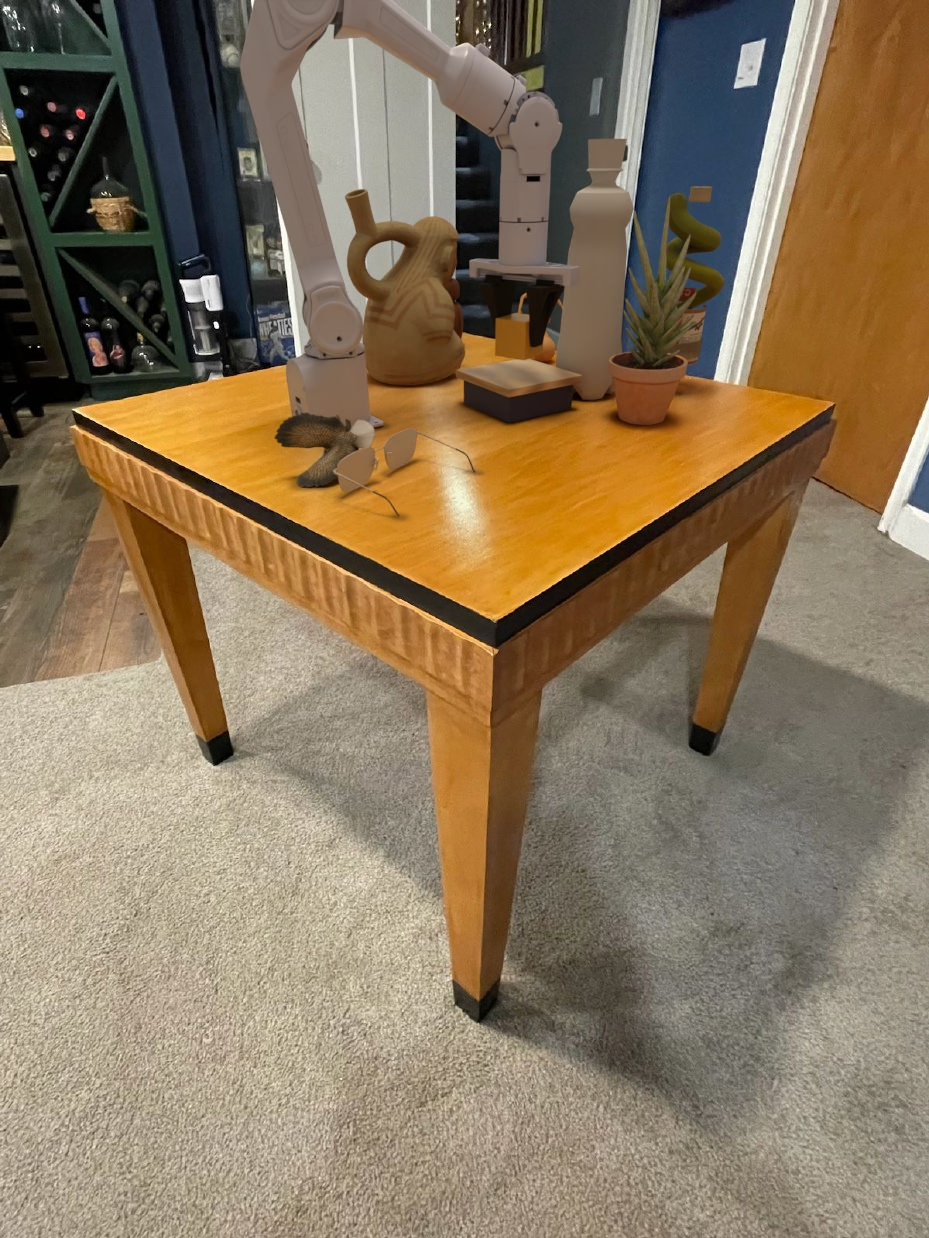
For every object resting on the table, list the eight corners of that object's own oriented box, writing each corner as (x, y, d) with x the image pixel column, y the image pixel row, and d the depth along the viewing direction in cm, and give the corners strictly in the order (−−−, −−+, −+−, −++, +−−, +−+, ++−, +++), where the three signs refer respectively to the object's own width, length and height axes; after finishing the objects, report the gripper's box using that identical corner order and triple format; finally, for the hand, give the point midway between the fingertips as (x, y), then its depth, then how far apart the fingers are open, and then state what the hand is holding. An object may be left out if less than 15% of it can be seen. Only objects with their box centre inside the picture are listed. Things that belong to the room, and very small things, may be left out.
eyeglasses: (418, 457, 78) (418, 422, 75) (477, 477, 74) (480, 442, 72) (333, 499, 68) (331, 461, 66) (397, 524, 65) (397, 485, 62)
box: (507, 425, 87) (508, 389, 84) (456, 403, 95) (455, 369, 93) (579, 409, 92) (582, 375, 90) (524, 389, 101) (525, 357, 98)
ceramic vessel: (491, 374, 108) (494, 186, 94) (394, 399, 97) (380, 191, 83) (421, 356, 118) (414, 185, 104) (326, 377, 107) (304, 188, 93)
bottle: (541, 395, 98) (555, 139, 82) (572, 381, 104) (591, 141, 88) (598, 405, 94) (625, 137, 77) (628, 390, 100) (658, 139, 83)
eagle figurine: (322, 441, 79) (262, 450, 72) (349, 392, 75) (288, 396, 68) (364, 488, 78) (307, 502, 71) (394, 441, 73) (337, 450, 66)
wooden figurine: (462, 350, 122) (462, 255, 113) (430, 350, 122) (427, 255, 114) (463, 342, 127) (463, 251, 119) (432, 342, 127) (430, 251, 119)
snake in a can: (661, 375, 107) (689, 185, 93) (717, 388, 100) (756, 186, 86) (611, 388, 101) (634, 187, 87) (668, 403, 94) (702, 189, 80)
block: (524, 360, 86) (525, 322, 84) (494, 355, 88) (495, 318, 86) (543, 353, 89) (545, 316, 87) (514, 349, 91) (515, 312, 89)
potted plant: (588, 413, 91) (609, 194, 77) (645, 403, 94) (674, 192, 81) (637, 435, 83) (669, 197, 70) (696, 423, 87) (738, 195, 73)
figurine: (524, 366, 112) (528, 285, 105) (510, 358, 116) (512, 280, 110) (570, 362, 114) (576, 282, 107) (554, 354, 119) (559, 277, 112)
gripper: (595, 221, 80) (584, 344, 87) (492, 217, 87) (491, 331, 94) (564, 225, 75) (556, 355, 82) (458, 220, 82) (460, 340, 90)
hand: (519, 343), depth 88 cm, fingers closed on block, 4 cm apart
